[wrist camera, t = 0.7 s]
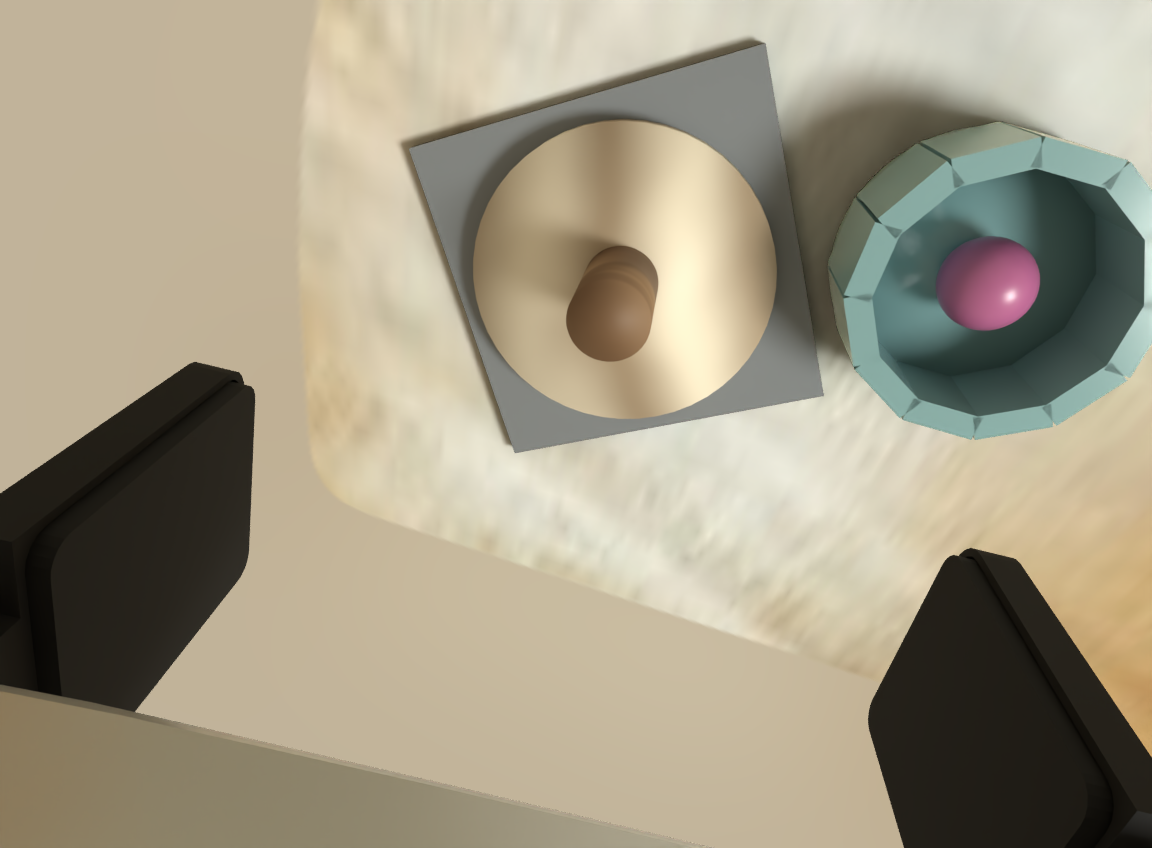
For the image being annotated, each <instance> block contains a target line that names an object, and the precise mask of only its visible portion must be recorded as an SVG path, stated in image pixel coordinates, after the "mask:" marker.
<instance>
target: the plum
mask: <svg viewBox="0 0 1152 848" xmlns="http://www.w3.org/2000/svg"><path fill="white" fill-rule="evenodd" d="M1039 286H1040V273H1039V269H1038V265H1037V263H1036V261H1035V259H1034V257H1033V256H1032V254H1031V253H1030V252H1029V251H1028V250H1027V249H1026V248H1025V247H1023V246H1022V245H1021V244H1019V243H1017V242H1015V241H1013V240H1011V239H1008V238H1004V237H997V236H985V237H979V238H976V239H972V240H970V241H968V242H965V243H964V244H962V245H960V246H959V247H957V248H956V249H955V250H953V251H952V252H951V253H950V254H949V255H948V256H947V258H946V259H945V260H944V262H943V263H942V265H941V267H940V269H939V272H938V275H937V279H936V295H937V299H938V302H939V304H940V306H941V308H942V310H943V311H944V313H945V314H946V315H947V316H948V317H949V318H950V319H951V320H953V321H954V322H955V323H957V324H959V325H961V326H963V327H966V328H969V329H973V330H995V329H999V328H1002V327H1005V326H1007V325H1010V324H1012V323H1013V322H1015V321H1017V320H1018V319H1019V318H1021V317H1022V316H1023V315H1024V314H1025V313H1026V312H1027V311H1028V310H1029V309H1030V307H1031V306H1032V304H1033V303H1034V301H1035V299H1036V297H1037V294H1038V291H1039Z"/></svg>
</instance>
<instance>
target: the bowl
mask: <svg viewBox="0 0 1152 848" xmlns="http://www.w3.org/2000/svg"><path fill="white" fill-rule="evenodd" d="M985 236H997V237H1004V238H1008V239H1011V240H1013V241H1015V242H1017V243H1019V244H1021V245H1022V246H1023V247H1025V248H1026V249H1027V250H1028V251H1029V252H1030V253H1031V254H1032V256H1033V257H1034V259H1035V261H1036V263H1037V265H1038V269H1039V273H1040V286H1039V291H1038V294H1037V297H1036V299H1035V301H1034V303H1033V304H1032V306H1031V307H1030V309H1029V310H1028V311H1027V312H1026V313H1025V314H1024V315H1023V316H1022V317H1021V318H1019V319H1018V320H1017V321H1015V322H1013V323H1012V324H1010V325H1007V326H1005V327H1002V328H999V329H995V330H973V329H969V328H966V327H963V326H961V325H959V324H957V323H955V322H954V321H953V320H951V319H950V318H949V317H948V316H947V315H946V314H945V313H944V311H943V310H942V308H941V306H940V304H939V302H938V299H937V295H936V279H937V275H938V272H939V269H940V267H941V265H942V263H943V262H944V260H945V259H946V258H947V256H948V255H949V254H950V253H951V252H952V251H953V250H955V249H956V248H957V247H959V246H960V245H962V244H964V243H965V242H968V241H970V240H972V239H976V238H979V237H985ZM828 264H829V266H827V268H828V274H829V283H830V294H831V299H832V303H833V307H834V314H835V320H836V327H837V329H838V332H839V334H840V336H841V339H842V341H843V343H844V346H845V348H846V350H847V353H848V355H849V358H850V360H851V362H852V365H853V367H854V369H855V370H856V371H857V373H858V374H859V375H860V376H861V377H862V378H863V379H864V380H865V381H866V382H867V383H868V384H869V385H870V387H871V388H872V389H873V390H874V391H875V392H876V393H877V394H878V395H879V396H880V397H881V398H882V399H883V401H884V402H885V403H886V404H887V405H888V406H889V407H890V408H891V409H892V410H893V411H894V412H895V414H896V415H897V416H898V417H899V418H900V417H901V418H902V420H905V421H908V422H912V423H915V424H919V425H922V426H926V427H929V428H933V429H936V430H939V431H943V432H946V433H950V434H953V435H957V436H960V437H964V438H967V439H970V440H971V439H972V437H973V438H974V439H975V440H977V439H983V438H989V437H995V436H1001V435H1007V434H1013V433H1020V432H1026V431H1032V430H1038V429H1044V428H1050V427H1053V422H1054V423H1055V424H1056V425H1058V424H1060V423H1061V422H1063V421H1064V420H1066V419H1068V418H1069V417H1071V416H1072V415H1074V414H1075V413H1077V412H1079V411H1080V410H1082V409H1083V408H1085V407H1086V406H1088V405H1090V404H1091V403H1093V402H1094V401H1096V400H1097V399H1099V398H1101V397H1102V396H1104V395H1105V394H1107V393H1108V392H1110V391H1112V390H1113V389H1115V388H1116V387H1118V386H1119V385H1121V384H1123V383H1124V382H1126V381H1127V380H1126V379H1125V377H1124V376H1126V377H1131V375H1132V374H1133V372H1134V371H1135V369H1136V368H1137V366H1138V365H1139V363H1140V361H1141V360H1142V358H1143V357H1144V355H1145V354H1146V352H1147V351H1148V349H1149V347H1150V346H1151V344H1152V190H1151V188H1150V187H1149V186H1148V184H1147V183H1146V182H1145V180H1144V179H1143V178H1142V176H1141V175H1140V174H1139V172H1138V171H1137V170H1136V168H1135V167H1134V166H1133V164H1132V163H1131V162H1128V161H1127V160H1126V159H1123V158H1120V157H1117V156H1114V155H1111V154H1108V153H1105V152H1102V151H1099V150H1096V149H1093V148H1090V147H1087V146H1084V145H1081V144H1078V143H1075V142H1072V141H1068V140H1065V139H1061V138H1058V137H1054V136H1051V135H1047V134H1044V133H1040V132H1037V131H1034V130H1030V129H1026V128H1023V127H1019V126H1016V125H1012V124H1009V123H1005V122H994V123H990V124H986V125H982V126H972V127H967V128H962V129H957V130H953V131H950V132H947V133H943V134H940V135H937V136H934V137H932V138H930V139H927V140H923V141H920V143H919V144H917V143H916V144H915V145H914V146H912V147H911V148H910V149H908V150H907V151H905V152H903V153H902V154H900V155H899V156H897V157H896V158H895V159H893V160H892V161H891V162H890V163H888V164H887V165H886V166H884V167H883V168H882V169H881V170H880V171H879V172H878V173H877V174H876V175H875V176H874V177H873V178H872V179H871V180H870V181H869V182H868V183H867V184H866V185H865V187H864V188H863V189H862V190H861V191H860V192H859V193H858V194H857V197H856V198H855V197H854V200H853V202H852V204H851V206H850V207H849V209H848V211H847V212H846V214H845V216H844V218H843V221H842V223H841V225H840V227H839V229H838V232H837V235H836V238H835V241H834V244H833V249H832V253H831V256H830V258H829V260H828ZM1052 421H1053V422H1052Z"/></svg>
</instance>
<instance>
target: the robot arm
mask: <svg viewBox="0 0 1152 848" xmlns="http://www.w3.org/2000/svg"><path fill="white" fill-rule="evenodd" d="M254 412H255V393H254V389H253V388H252V387H251V386H247V385H244V381H243V378H242V376H241V374H240V373H239V372H235V371H231V370H227V369H223V368H219V367H215V366H210V365H206V364H202V363H197V362H193V363H191V364H189V365H187V366H186V367H184V368H183V369H181V370H180V371H178V372H177V373H175V374H174V375H173V376H171V377H170V378H168V379H167V380H165V381H164V382H163V383H161V384H160V385H158V386H156V387H155V388H154V389H152V390H151V391H149V392H148V393H146V394H145V395H143V396H142V397H140V398H139V399H138V400H136V401H135V402H133V403H132V404H130V405H129V406H127V407H126V408H125V409H123V410H122V411H120V412H119V413H117V414H116V415H114V416H113V417H111V418H110V419H108V420H107V421H105V422H104V423H102V424H101V425H100V426H98V427H97V428H95V429H94V430H92V431H91V432H89V433H88V434H86V435H85V436H84V437H82V438H81V439H79V440H78V441H76V442H75V443H74V444H72V445H70V446H69V447H67V448H66V449H65V450H63V451H62V452H60V453H59V454H57V455H56V456H54V457H53V458H51V459H50V460H49V461H47V462H46V463H44V464H43V465H41V466H40V467H38V468H37V469H35V470H34V471H32V472H31V473H29V474H28V475H27V476H25V477H24V478H23V479H21V480H19V481H18V482H17V483H15V484H13V485H12V486H11V487H9V488H8V489H6V490H5V491H3V492H2V493H0V848H712V847H708V846H704V845H700V844H695V843H691V842H687V841H683V840H679V839H674V838H670V837H666V836H662V835H658V834H653V833H650V832H645V831H641V830H637V829H633V828H629V827H624V826H620V825H616V824H611V823H607V822H603V821H599V820H595V819H591V818H587V817H583V816H578V815H574V814H570V813H566V812H561V811H557V810H553V809H549V808H545V807H540V806H536V805H531V804H528V803H523V802H519V801H514V800H511V799H506V798H502V797H498V796H494V795H490V794H485V793H481V792H477V791H473V790H469V789H464V788H460V787H456V786H452V785H447V784H443V783H439V782H434V781H431V780H426V779H422V778H418V777H413V776H409V775H405V774H400V773H396V772H392V771H387V770H383V769H379V768H374V767H370V766H366V765H361V764H357V763H353V762H349V761H344V760H340V759H335V758H331V757H327V756H323V755H318V754H314V753H310V752H305V751H301V750H296V749H292V748H288V747H284V746H279V745H275V744H271V743H266V742H262V741H258V740H254V739H249V738H245V737H241V736H236V735H232V734H228V733H223V732H219V731H215V730H210V729H206V728H202V727H197V726H193V725H188V724H184V723H180V722H176V721H171V720H167V719H162V718H158V717H154V716H149V715H145V714H140V713H136V712H135V711H136V709H137V708H138V707H139V706H140V704H141V703H142V702H143V701H144V699H145V698H146V697H147V696H148V694H149V693H150V692H151V690H152V689H153V688H154V686H155V685H156V684H157V683H158V681H159V680H160V679H161V678H162V676H163V675H164V674H165V673H166V671H167V670H168V669H169V668H170V666H171V665H172V664H173V662H174V661H175V660H176V659H177V657H178V656H179V655H180V654H181V652H182V651H183V650H184V648H185V647H186V646H187V645H188V643H189V642H190V641H191V640H192V638H193V637H194V636H195V634H196V633H197V632H198V631H199V629H200V628H201V627H202V625H203V624H204V623H205V622H206V621H207V619H208V618H209V617H210V615H211V614H212V613H213V612H214V610H215V609H216V608H217V606H218V605H219V604H220V603H221V601H222V600H223V599H224V598H225V596H226V595H227V594H228V592H229V591H230V590H231V589H232V587H233V586H234V585H235V584H236V582H237V581H238V580H239V578H240V577H241V575H242V573H243V571H244V569H245V566H246V563H247V559H248V554H249V536H250V511H251V486H252V463H253V437H254V414H255V413H254ZM868 725H869V731H870V734H871V738H872V741H873V744H874V748H875V751H876V755H877V758H878V761H879V764H880V768H881V771H882V775H883V778H884V781H885V785H886V788H887V791H888V795H889V798H890V801H891V805H892V809H893V812H894V815H895V819H896V822H897V825H898V829H899V832H900V836H901V839H902V842H903V845H904V848H1152V757H1151V756H1150V754H1149V753H1148V751H1147V750H1146V748H1145V747H1144V746H1143V744H1142V743H1141V741H1140V740H1139V738H1138V737H1137V735H1136V734H1135V732H1134V731H1133V729H1132V728H1131V726H1130V725H1129V723H1128V722H1127V720H1126V719H1125V717H1124V716H1123V715H1122V713H1121V712H1120V710H1119V709H1118V707H1117V706H1116V704H1115V703H1114V701H1113V700H1112V698H1111V697H1110V695H1109V694H1108V692H1107V691H1106V689H1105V688H1104V686H1103V685H1102V684H1101V682H1100V681H1099V679H1098V678H1097V676H1096V675H1095V673H1094V672H1093V670H1092V669H1091V667H1090V666H1089V664H1088V663H1087V661H1086V660H1085V658H1084V657H1083V655H1082V654H1081V653H1080V651H1079V650H1078V648H1077V647H1076V645H1075V644H1074V642H1073V641H1072V639H1071V638H1070V636H1069V635H1068V633H1067V632H1066V630H1065V629H1064V627H1063V626H1062V624H1061V623H1060V622H1059V620H1058V619H1057V617H1056V616H1055V614H1054V613H1053V611H1052V610H1051V608H1050V607H1049V605H1048V604H1047V602H1046V601H1045V599H1044V598H1043V596H1042V595H1041V593H1040V592H1039V591H1038V589H1037V588H1036V586H1035V585H1034V583H1033V582H1032V580H1031V579H1030V577H1029V576H1028V574H1027V573H1026V571H1025V570H1024V568H1023V567H1022V565H1021V564H1020V563H1019V562H1018V561H1017V560H1016V559H1014V558H1010V557H1006V556H1002V555H998V554H993V553H989V552H985V551H981V550H977V549H973V548H969V549H966V550H964V551H963V552H962V553H961V554H960V555H959V556H956V555H952V556H949V557H948V558H947V559H946V560H945V562H944V563H943V565H942V567H941V569H940V571H939V573H938V574H937V576H936V578H935V580H934V582H933V584H932V586H931V588H930V590H929V592H928V594H927V596H926V598H925V600H924V601H923V603H922V605H921V607H920V609H919V611H918V613H917V615H916V617H915V619H914V621H913V623H912V625H911V627H910V628H909V630H908V632H907V634H906V636H905V638H904V640H903V642H902V644H901V646H900V648H899V650H898V652H897V654H896V655H895V657H894V659H893V661H892V663H891V665H890V667H889V669H888V671H887V673H886V675H885V677H884V679H883V681H882V682H881V684H880V686H879V688H878V690H877V692H876V694H875V696H874V698H873V700H872V702H871V705H870V709H869V716H868Z"/></svg>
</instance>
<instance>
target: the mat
mask: <svg viewBox="0 0 1152 848" xmlns="http://www.w3.org/2000/svg"><path fill="white" fill-rule="evenodd" d="M615 119H635V120H647V121H652V122H656V123H661V124H666V125H669V126H672V127H674V128H677V129H680V130H683V131H685V132H688V133H690V134H691V135H693V136H695V137H697V138H699V139H701V140H703V141H705V142H706V143H708V144H709V145H710V146H712V147H713V148H714V149H716V150H717V151H719V152H720V153H721V154H723V155H724V156H725V157H726V158H727V159H728V160H729V161H730V162H731V163H732V164H733V165H734V166H735V167H736V168H737V169H738V170H739V172H740V173H741V174H742V175H743V177H744V178H745V179H746V180H747V182H748V183H749V184H750V186H751V187H752V189H753V191H754V193H755V194H756V196H757V198H758V200H759V201H760V203H761V206H762V208H763V210H764V213H765V215H766V218H767V220H768V223H769V227H770V230H771V234H772V238H773V242H774V246H775V255H776V264H777V279H776V292H775V297H774V303H773V308H772V311H771V314H770V318H769V321H768V324H767V327H766V329H765V331H764V333H763V335H762V337H761V339H760V341H759V343H758V345H757V346H756V348H755V350H754V351H753V353H752V354H751V356H750V357H749V359H748V360H747V361H746V362H745V364H744V365H743V366H742V367H741V368H740V370H739V371H738V372H737V373H736V374H735V375H734V376H733V377H732V378H731V379H730V380H728V381H727V382H726V383H725V384H724V385H723V386H722V387H720V388H719V389H717V390H716V391H715V392H713V393H712V394H710V395H709V396H707V397H706V398H704V399H702V400H700V401H698V402H696V403H694V404H693V405H691V406H688V407H685V408H683V409H680V410H678V411H675V412H672V413H668V414H664V415H660V416H655V417H647V418H640V419H616V418H607V417H600V416H595V415H591V414H587V413H583V412H580V411H577V410H574V409H572V408H569V407H566V406H564V405H562V404H560V403H558V402H556V401H554V400H552V399H550V398H548V397H547V396H545V395H544V394H542V393H541V392H539V391H538V390H536V389H535V388H533V387H532V386H531V385H530V384H529V383H527V382H526V381H525V380H524V379H523V378H521V377H520V376H519V375H518V374H517V373H516V371H515V370H514V369H513V368H512V367H511V366H510V365H509V364H508V363H507V362H506V360H505V359H504V357H503V356H502V355H501V353H500V352H499V351H498V349H497V348H496V346H495V344H494V342H493V341H492V339H491V337H490V335H489V334H488V332H487V329H486V327H485V324H484V322H483V320H482V317H481V314H480V311H479V307H478V303H477V300H476V294H475V287H474V280H473V257H474V249H475V241H476V237H477V233H478V229H479V226H480V222H481V219H482V217H483V215H484V212H485V210H486V207H487V205H488V203H489V201H490V199H491V198H492V196H493V194H494V193H495V191H496V189H497V187H498V186H499V185H500V183H501V182H502V181H503V180H504V178H505V177H506V176H507V175H508V173H509V172H510V171H511V170H512V169H513V168H514V167H515V166H516V165H517V164H518V163H519V162H520V161H521V160H522V159H523V158H524V157H525V156H527V155H528V154H529V153H531V152H532V151H533V150H535V149H536V148H537V147H539V146H540V145H542V144H543V143H544V142H546V141H548V140H549V139H551V138H553V137H555V136H557V135H559V134H561V133H563V132H565V131H567V130H570V129H573V128H576V127H578V126H581V125H584V124H589V123H593V122H598V121H603V120H615ZM409 151H410V154H411V156H412V159H413V162H414V165H415V168H416V171H417V174H418V177H419V179H420V182H421V185H422V188H423V191H424V194H425V197H426V200H427V202H428V205H429V208H430V211H431V214H432V217H433V220H434V223H435V225H436V228H437V231H438V234H439V237H440V240H441V243H442V246H443V248H444V251H445V254H446V257H447V260H448V263H449V266H450V268H451V271H452V274H453V277H454V280H455V283H456V286H457V289H458V291H459V294H460V297H461V300H462V303H463V306H464V309H465V312H466V314H467V317H468V320H469V323H470V326H471V329H472V332H473V335H474V337H475V340H476V343H477V346H478V349H479V352H480V355H481V358H482V360H483V363H484V366H485V369H486V372H487V375H488V378H489V381H490V383H491V386H492V389H493V392H494V395H495V398H496V401H497V404H498V406H499V409H500V412H501V415H502V418H503V421H504V424H505V427H506V429H507V432H508V435H509V438H510V441H511V444H512V447H513V450H514V452H515V453H519V452H524V451H529V450H535V449H540V448H546V447H551V446H556V445H562V444H567V443H572V442H578V441H583V440H589V439H594V438H599V437H605V436H610V435H615V434H621V433H626V432H632V431H637V430H642V429H648V428H653V427H659V426H664V425H669V424H675V423H680V422H685V421H691V420H696V419H702V418H707V417H712V416H718V415H723V414H729V413H734V412H739V411H745V410H750V409H755V408H761V407H766V406H772V405H777V404H782V403H788V402H793V401H798V400H804V399H809V398H815V397H820V396H824V394H823V388H822V382H821V376H820V370H819V364H818V358H817V352H816V346H815V340H814V334H813V328H812V322H811V316H810V310H809V304H808V298H807V291H806V285H805V279H804V273H803V267H802V261H801V255H800V249H799V243H798V237H797V231H796V225H795V219H794V213H793V207H792V201H791V195H790V189H789V183H788V177H787V171H786V165H785V159H784V153H783V147H782V140H781V134H780V128H779V122H778V116H777V110H776V104H775V98H774V92H773V86H772V80H771V74H770V68H769V62H768V56H767V50H766V44H765V43H763V44H760V45H756V46H753V47H750V48H746V49H743V50H739V51H736V52H733V53H729V54H726V55H722V56H719V57H716V58H712V59H709V60H706V61H702V62H699V63H695V64H692V65H689V66H685V67H682V68H678V69H675V70H672V71H668V72H665V73H661V74H658V75H655V76H651V77H648V78H644V79H641V80H638V81H634V82H631V83H628V84H624V85H621V86H617V87H614V88H611V89H607V90H604V91H600V92H597V93H594V94H590V95H587V96H583V97H580V98H577V99H573V100H570V101H566V102H563V103H560V104H556V105H553V106H550V107H546V108H543V109H539V110H536V111H533V112H529V113H526V114H522V115H519V116H516V117H512V118H509V119H505V120H502V121H499V122H495V123H492V124H488V125H485V126H482V127H478V128H475V129H472V130H468V131H465V132H461V133H458V134H455V135H451V136H448V137H444V138H441V139H438V140H434V141H431V142H427V143H424V144H421V145H417V146H414V147H411V148H409Z"/></svg>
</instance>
